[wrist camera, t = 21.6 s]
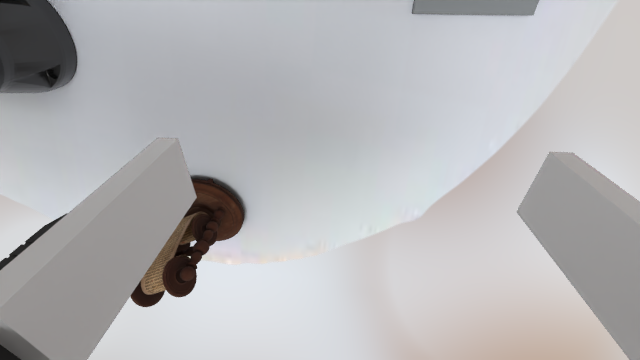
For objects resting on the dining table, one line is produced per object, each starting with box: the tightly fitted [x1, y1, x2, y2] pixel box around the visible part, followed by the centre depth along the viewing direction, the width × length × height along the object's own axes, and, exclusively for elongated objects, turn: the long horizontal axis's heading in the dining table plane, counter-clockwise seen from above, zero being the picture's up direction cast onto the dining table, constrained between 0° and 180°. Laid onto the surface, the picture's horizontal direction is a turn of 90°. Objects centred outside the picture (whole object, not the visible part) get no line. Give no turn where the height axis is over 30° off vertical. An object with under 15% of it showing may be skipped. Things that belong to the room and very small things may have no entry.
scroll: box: [130, 179, 244, 307], centre depth 47 cm, size 15×15×20 cm
